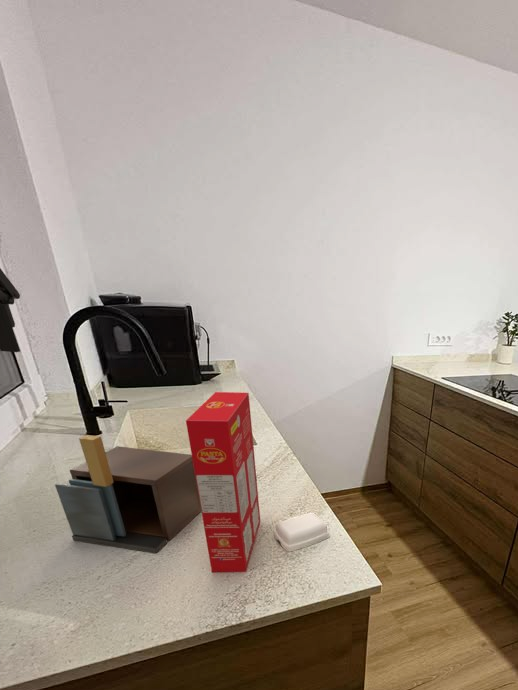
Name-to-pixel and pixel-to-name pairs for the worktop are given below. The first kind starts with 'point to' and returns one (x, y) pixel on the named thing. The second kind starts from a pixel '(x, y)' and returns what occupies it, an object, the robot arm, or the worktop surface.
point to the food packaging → (226, 478)
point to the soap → (301, 531)
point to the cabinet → (134, 499)
